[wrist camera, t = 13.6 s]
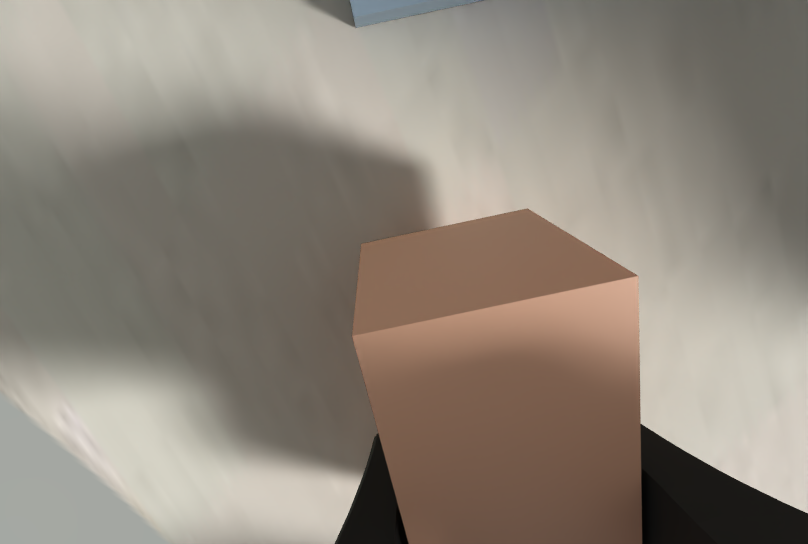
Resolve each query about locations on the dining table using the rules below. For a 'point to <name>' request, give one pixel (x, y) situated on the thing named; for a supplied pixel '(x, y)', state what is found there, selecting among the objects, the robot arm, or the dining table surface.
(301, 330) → the dining table surface
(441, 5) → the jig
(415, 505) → the pinkish tan block
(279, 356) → the dining table surface
